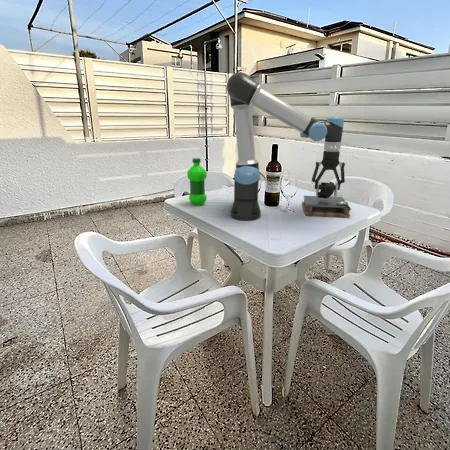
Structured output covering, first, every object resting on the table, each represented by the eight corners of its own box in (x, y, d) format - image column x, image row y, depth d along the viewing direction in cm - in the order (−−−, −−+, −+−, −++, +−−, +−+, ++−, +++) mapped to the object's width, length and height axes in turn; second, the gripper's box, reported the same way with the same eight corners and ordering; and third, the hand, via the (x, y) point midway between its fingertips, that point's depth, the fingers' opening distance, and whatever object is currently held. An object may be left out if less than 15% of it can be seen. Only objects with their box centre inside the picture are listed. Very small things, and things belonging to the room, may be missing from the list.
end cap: (331, 199, 146) (333, 186, 143) (317, 197, 149) (318, 184, 146) (334, 194, 154) (336, 182, 152) (320, 193, 157) (322, 180, 155)
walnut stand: (305, 215, 147) (306, 205, 145) (301, 204, 165) (302, 195, 163) (349, 218, 144) (351, 207, 142) (341, 206, 162) (342, 196, 160)
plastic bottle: (198, 208, 158) (196, 161, 149) (184, 204, 165) (182, 158, 155) (210, 203, 165) (210, 158, 156) (197, 200, 172) (196, 156, 163)
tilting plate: (306, 206, 147) (307, 201, 146) (303, 197, 162) (304, 192, 161) (348, 207, 144) (349, 202, 143) (341, 198, 159) (342, 194, 158)
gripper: (310, 151, 141) (305, 196, 150) (356, 152, 138) (349, 198, 147) (308, 149, 148) (304, 193, 156) (352, 150, 145) (345, 194, 153)
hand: (326, 195), depth 151 cm, fingers closed on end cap, 8 cm apart
